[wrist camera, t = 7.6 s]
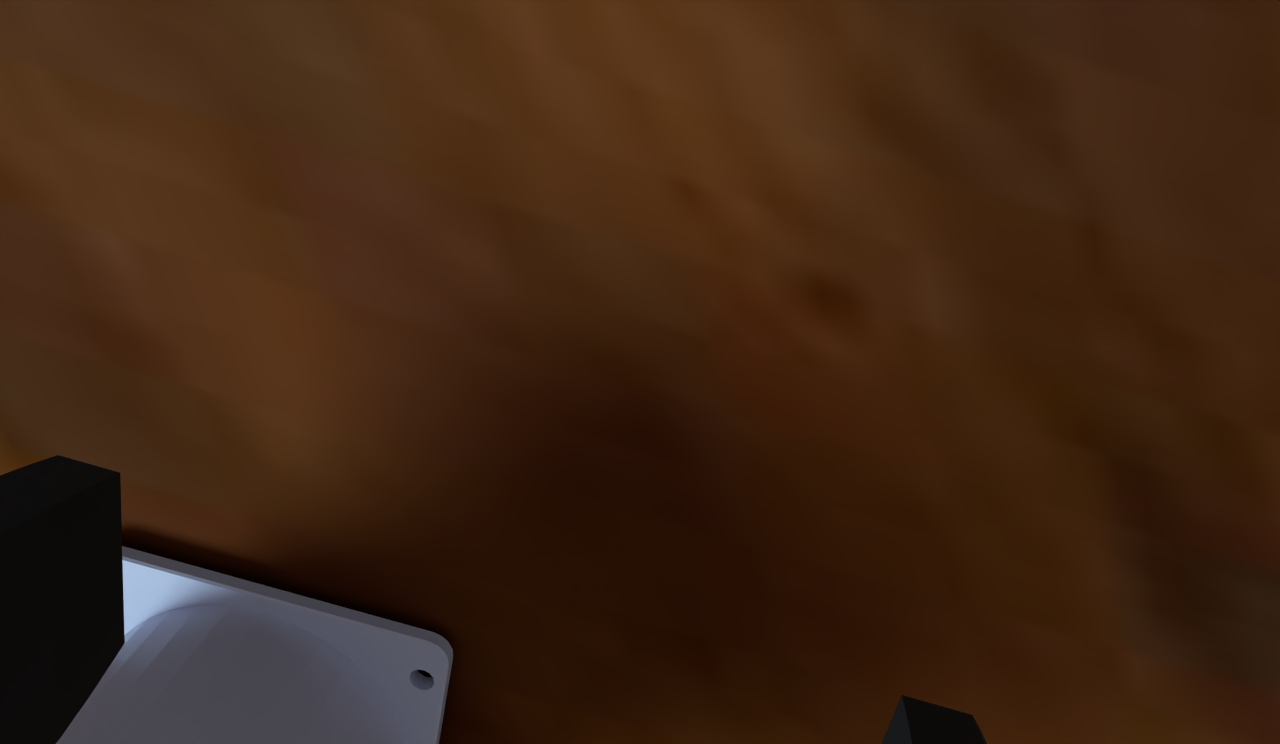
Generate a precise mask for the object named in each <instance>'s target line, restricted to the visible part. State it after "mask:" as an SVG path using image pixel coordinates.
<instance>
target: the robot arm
mask: <svg viewBox="0 0 1280 744" xmlns="http://www.w3.org/2000/svg"><path fill="white" fill-rule="evenodd" d="M452 661H453V649H452V647H451V646H450V644H449V642H448V641H447V640H446V639H445V638H444V637H442V636H441V635H439V634H436V633H434V632H431V631H428V630H424V629H421V628H417V627H413V626H410V625H406V624H403V623H399V622H395V621H392V620H388V619H384V618H381V617H377V616H374V615H370V614H366V613H363V612H359V611H356V610H352V609H348V608H345V607H341V606H337V605H334V604H330V603H327V602H323V601H319V600H316V599H312V598H309V597H305V596H301V595H298V594H294V593H290V592H287V591H283V590H280V589H276V588H272V587H269V586H265V585H262V584H258V583H254V582H251V581H247V580H244V579H240V578H236V577H233V576H229V575H225V574H222V573H218V572H215V571H211V570H207V569H204V568H200V567H197V566H193V565H189V564H186V563H182V562H178V561H175V560H171V559H168V558H164V557H160V556H157V555H153V554H150V553H146V552H142V551H139V550H135V549H131V548H128V547H124V546H122V526H121V489H120V473H119V472H115V471H112V470H108V469H105V468H101V467H98V466H94V465H91V464H87V463H84V462H80V461H77V460H73V459H70V458H66V457H62V456H59V455H57V456H54V457H51V458H48V459H45V460H42V461H39V462H36V463H33V464H30V465H28V466H25V467H22V468H19V469H17V470H14V471H11V472H9V473H6V474H3V475H1V476H0V744H439V740H440V734H441V728H442V722H443V716H444V710H445V704H446V698H447V692H448V685H449V679H450V673H451V667H452ZM418 670H424V671H426V672H428V673H430V675H431V676H432V677H433V678H432V677H425V676H423V675H421V674H420V673H419V672H418ZM882 744H987V743H986V741H985V739H984V737H983V734H982V732H981V730H980V728H979V726H978V724H977V723H976V721H975V719H974V717H973V716H972V715H970V714H966V713H963V712H959V711H956V710H952V709H949V708H945V707H942V706H938V705H935V704H931V703H928V702H924V701H921V700H917V699H914V698H910V697H907V696H903V695H902V696H901V699H900V701H899V703H898V706H897V708H896V711H895V713H894V715H893V718H892V720H891V723H890V725H889V727H888V730H887V732H886V735H885V737H884V740H883V742H882Z"/></svg>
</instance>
